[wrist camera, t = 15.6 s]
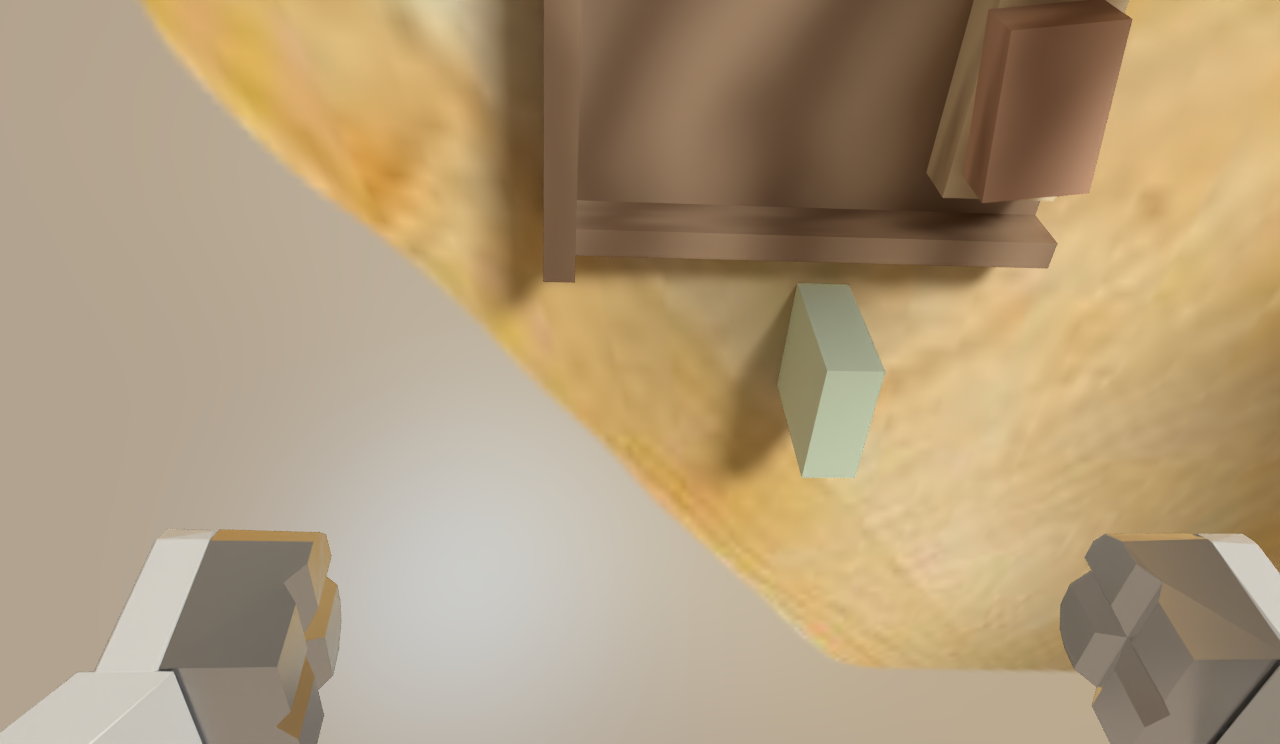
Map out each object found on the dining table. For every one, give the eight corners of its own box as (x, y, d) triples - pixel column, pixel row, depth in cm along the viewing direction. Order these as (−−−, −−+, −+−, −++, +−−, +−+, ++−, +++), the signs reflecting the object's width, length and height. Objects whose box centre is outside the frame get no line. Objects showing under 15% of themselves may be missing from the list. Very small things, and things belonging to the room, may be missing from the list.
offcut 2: (1102, -2, 33) (1132, 18, 31) (1064, 166, 37) (1089, 193, 35) (988, 9, 33) (1011, 30, 31) (962, 176, 37) (982, 202, 35)
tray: (1146, -116, 33) (1222, -82, 29) (1021, 232, 42) (1067, 294, 38) (547, -154, 31) (543, -123, 27) (546, 217, 40) (543, 281, 36)
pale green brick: (848, 283, 43) (885, 371, 38) (824, 385, 47) (854, 477, 42) (797, 282, 43) (827, 370, 38) (776, 384, 47) (801, 477, 41)
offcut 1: (1103, -23, 34) (1130, -5, 33) (1032, 176, 39) (1053, 201, 38) (982, -30, 34) (1003, -12, 32) (926, 172, 39) (942, 197, 37)
